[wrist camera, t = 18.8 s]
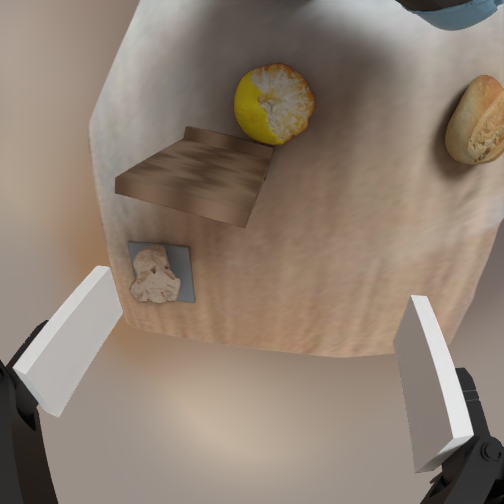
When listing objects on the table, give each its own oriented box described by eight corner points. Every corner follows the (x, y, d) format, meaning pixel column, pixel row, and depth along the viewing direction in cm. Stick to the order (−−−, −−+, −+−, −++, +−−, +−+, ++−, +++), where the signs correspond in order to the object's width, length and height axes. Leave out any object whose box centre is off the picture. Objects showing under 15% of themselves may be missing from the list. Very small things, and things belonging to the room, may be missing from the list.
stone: (136, 282, 59) (125, 297, 55) (147, 235, 53) (135, 249, 49) (177, 300, 60) (168, 317, 56) (193, 256, 54) (184, 272, 50)
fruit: (313, 146, 42) (295, 157, 36) (246, 133, 45) (218, 141, 39) (324, 70, 36) (307, 65, 30) (253, 61, 39) (224, 58, 33)
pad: (128, 241, 55) (127, 243, 55) (189, 246, 54) (188, 248, 53) (140, 293, 61) (139, 295, 61) (195, 300, 60) (194, 302, 59)
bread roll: (507, 96, 31) (536, 103, 25) (472, 173, 39) (497, 190, 32) (464, 61, 31) (491, 60, 24) (428, 142, 39) (450, 155, 32)
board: (182, 157, 46) (114, 208, 29) (188, 126, 43) (116, 160, 26) (265, 178, 46) (240, 244, 29) (274, 147, 43) (253, 194, 26)
